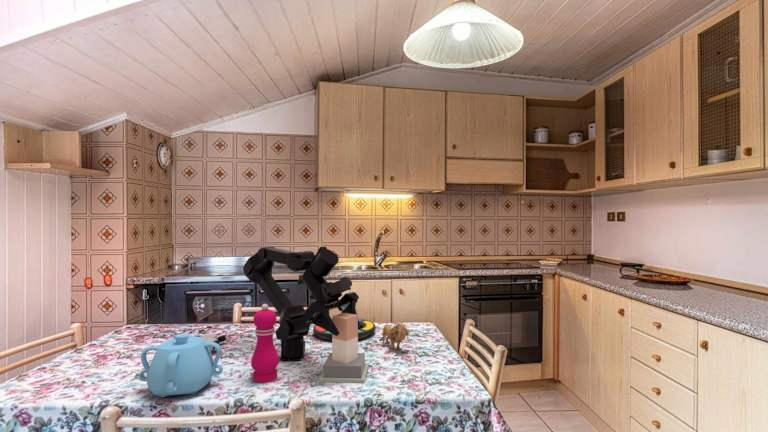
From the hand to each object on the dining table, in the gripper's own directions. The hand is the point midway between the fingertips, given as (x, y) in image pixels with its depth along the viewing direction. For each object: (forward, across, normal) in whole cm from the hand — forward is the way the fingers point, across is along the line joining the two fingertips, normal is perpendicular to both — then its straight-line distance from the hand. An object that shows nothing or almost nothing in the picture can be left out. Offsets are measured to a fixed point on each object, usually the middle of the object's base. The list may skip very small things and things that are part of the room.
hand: (348, 330), depth 111 cm
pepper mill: (-4, -14, +21) cm, 26 cm away
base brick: (+8, 0, +10) cm, 12 cm away
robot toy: (-28, -9, +46) cm, 55 cm away
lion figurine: (+8, +26, +10) cm, 28 cm away
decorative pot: (-13, -30, +30) cm, 44 cm away
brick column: (+5, 0, +7) cm, 8 cm away
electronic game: (-9, +30, +27) cm, 41 cm away
